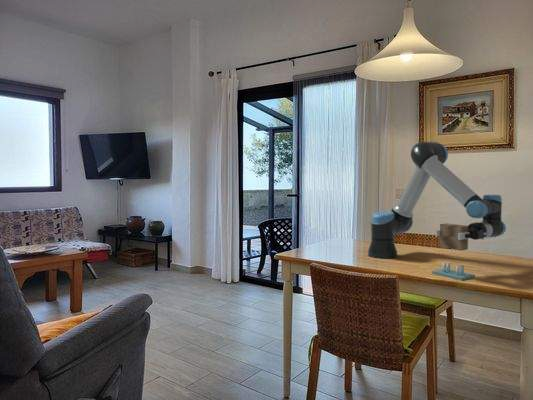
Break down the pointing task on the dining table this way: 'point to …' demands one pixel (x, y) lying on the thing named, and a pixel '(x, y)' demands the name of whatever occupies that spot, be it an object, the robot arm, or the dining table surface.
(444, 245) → the brown boxy piece
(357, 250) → the dining table surface
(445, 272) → the peg stand
